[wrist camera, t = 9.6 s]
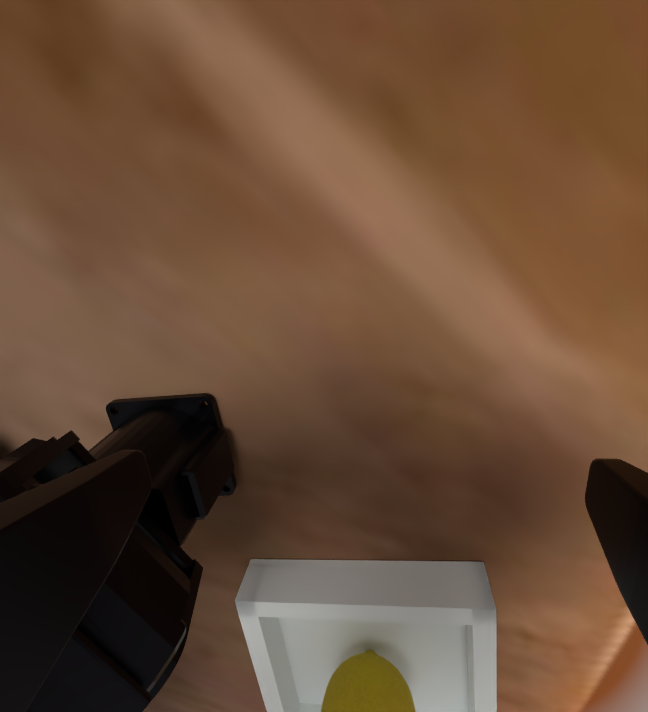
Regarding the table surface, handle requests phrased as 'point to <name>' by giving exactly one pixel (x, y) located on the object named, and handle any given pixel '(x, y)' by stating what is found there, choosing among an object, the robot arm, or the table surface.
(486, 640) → the dish
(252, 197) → the table surface
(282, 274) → the table surface
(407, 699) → the lemon
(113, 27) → the table surface
